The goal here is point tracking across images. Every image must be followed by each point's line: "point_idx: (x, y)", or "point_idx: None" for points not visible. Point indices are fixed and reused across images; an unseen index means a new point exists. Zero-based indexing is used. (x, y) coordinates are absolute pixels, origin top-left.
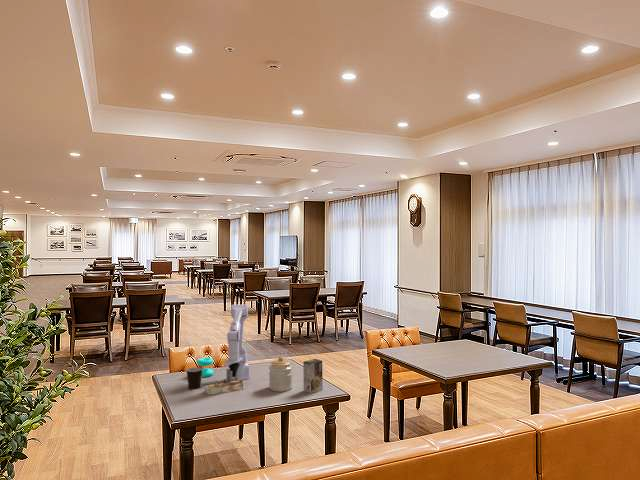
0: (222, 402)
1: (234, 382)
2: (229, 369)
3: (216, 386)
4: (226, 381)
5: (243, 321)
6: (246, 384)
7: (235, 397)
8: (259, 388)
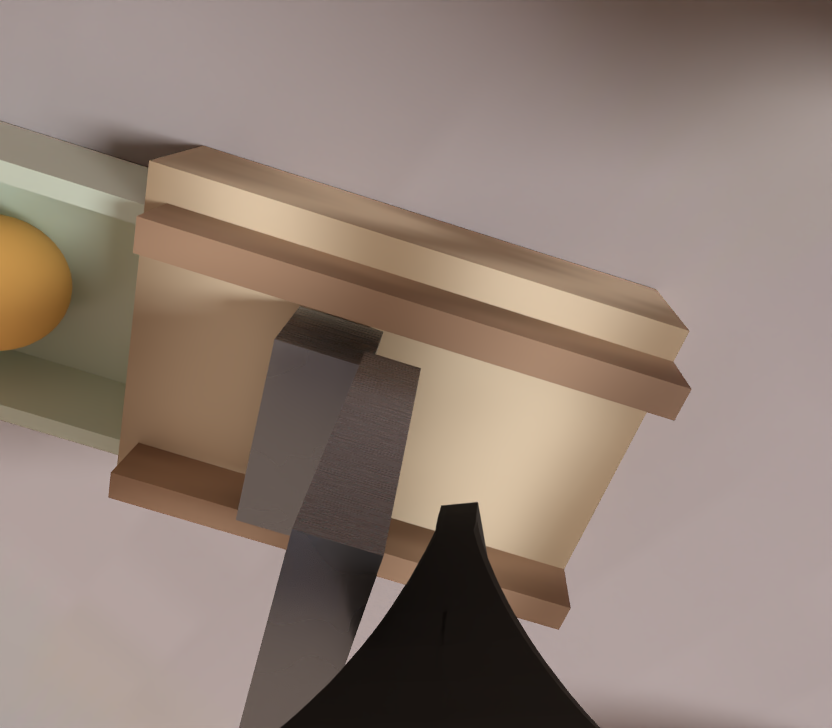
0: (4, 661)
1: (381, 575)
2: (328, 649)
3: None
4: (247, 480)
5: None
6: (788, 417)
7: (219, 667)
8: (705, 685)
